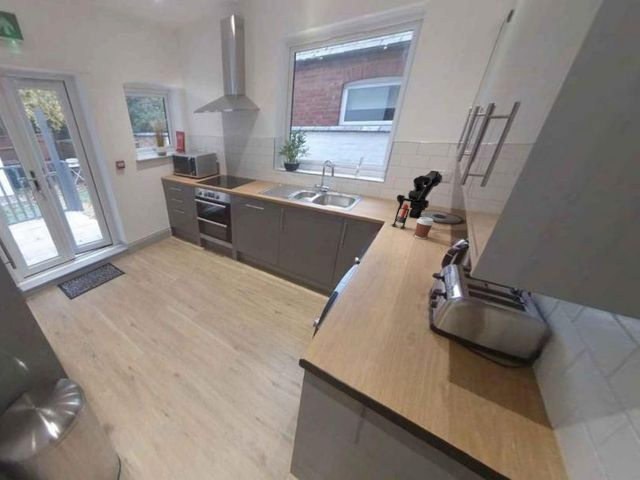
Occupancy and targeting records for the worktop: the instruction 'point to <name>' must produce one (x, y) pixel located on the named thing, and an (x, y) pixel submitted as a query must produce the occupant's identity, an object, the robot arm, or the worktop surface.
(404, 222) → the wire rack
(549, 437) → the worktop surface
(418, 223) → the coffee cup
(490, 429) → the worktop surface
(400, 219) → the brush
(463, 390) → the worktop surface
